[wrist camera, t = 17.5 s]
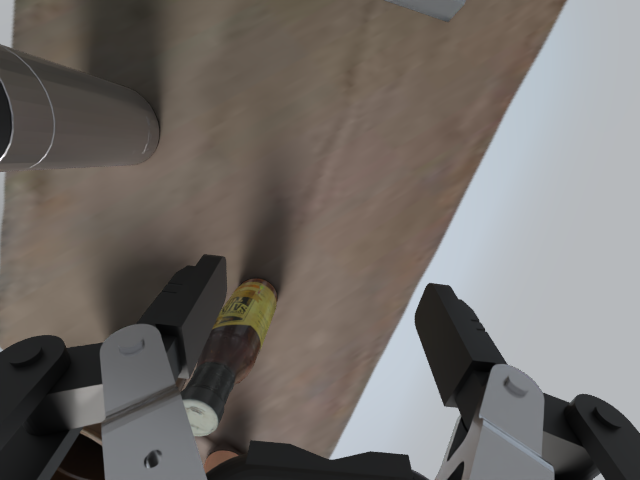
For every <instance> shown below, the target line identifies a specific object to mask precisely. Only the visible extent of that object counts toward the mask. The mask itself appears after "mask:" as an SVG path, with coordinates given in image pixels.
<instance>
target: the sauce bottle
mask: <svg viewBox="0 0 640 480" xmlns="http://www.w3.org/2000/svg"><path fill="white" fill-rule="evenodd" d="M276 303H277V293H276V291H275V288H274V287H273V286H272V285H271V284H270V283H269V282H267V281H265V280H263V279H250V280H247V281H245V282H243V283H242V284H241V285H240V286H239V287H238V288H237V289H236V290H235V291H234V293H233V294H232V296H231V297H230V299H229V300H228V301H227V303H226V304H225V306H224V307H223V308H222V310H221V311H220V313H219V315H218V317H217V320H216V322H215V324H214V326H213V328H212V330H211V333H210V335H209V337H208V339H207V341H206V344H205V346H204V348H203V350H202V352H201V354H200V357H199V359H198V363H197V368H196V370H195V371H194V374H193V377H192V378H191V380H190V381H189V383H188V385H187V386H186V388H185V389H184V390H183V391H181V392H180V394H181V397H182V400H183V403H184V406H185V410H186V413H187V416H188V419H189V422H190V426H191V429H192V432H193V435H194V436H204V435H208V434H210V433H211V432H213V431H214V430H216V428H217V427H218V425H219V422H220V420H221V418H222V415H223V413H224V405H225V403H226V400H227V398H228V396H229V393H230V392H231V390H232V389H233V386H234V384H236V383H240V381H242V380H243V379H244V378H245V377H246V376H247V375H248V374H249V372H250V371H251V369H252V368H253V366H254V363H255V360H256V358H257V356H258V354H259V352H260V350H261V347H262V344H263V342H264V339H265V336H266V334H267V331H268V328H269V326H270V323H271V320H272V317H273V315H274V312H275V309H276Z"/></svg>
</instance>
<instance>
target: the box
mask: <svg viewBox="0 0 640 480" xmlns="http://www.w3.org/2000/svg"><path fill="white" fill-rule="evenodd" d="M385 1H388V2H391V3H394V4H397V5H400V6H403V7H406V8H408V9H411V10H414V11H417V12H420V13H423V14H426V15H429V16H432V17H435V18H438V19H441V20H444V21H446V22H449V20H450V19H451V18H452V17H453V16H454V15H455V14H456V13H457V12H458V11H459V9H460V8H461V7H462V6H463V5H464V3H465V1H466V0H385Z"/></svg>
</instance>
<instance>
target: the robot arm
mask: <svg viewBox="0 0 640 480" xmlns="http://www.w3.org/2000/svg"><path fill="white" fill-rule="evenodd" d="M158 140H159V126H158V121H157V118H156V115H155V113H154V111H153V109H152V108H151V106H150V105H149V103H148V102H147V101H146V100H145V99H144V98H143V97H142V96H141V95H139V94H138V93H137V92H135V91H133V90H132V89H130V88H127V87H124V86H121V85H118V84H115V83H112V82H109V81H107V80H104V79H101V78H98V77H95V76H92V75H89V74H86V73H84V72H81V71H78V70H75V69H72V68H69V67H66V66H63V65H60V64H57V63H54V62H51V61H48V60H45V59H42V58H39V57H36V56H33V55H30V54H27V53H24V52H22V51H19V50H16V49H13V48H10V47H7V46H4V45H1V44H0V172H8V171H24V170H44V169H64V168H85V167H105V166H126V165H136V164H139V163H142V162H144V161H145V160H147V159H148V158H150V156H151V155H152V154H153V153H154V151H155V149H156V147H157V145H158ZM226 292H227V276H226V258H225V257H223V256H215V255H207V254H204V255H203V256H202V258H201V259H200V260H199V262H198V263H197V265H196V266H186V267H185V268H183V269H181V270H180V271H178V272H177V273H175V275H174V276H173V277H172V279H171V280H170V281H169V282H168V285H166V286H165V288H164V289H163V290H162V293H160V294H159V295H158V297H157V298H156V299H155V300H154V302H153V303H152V304H151V306H150V307H149V308H148V309H147V311H146V312H145V313H144V315H143V316H142V317H141V318H140V320H139V321H138V322H137V323H136V324H135V325H130V326H127V327H124V328H122V329H120V330H118V331H116V332H114V333H113V334H112V335H110V336H109V337H108V338H107V339H106V340H105V341H104V342H103V343H98V344H91V345H84V346H77V347H70V348H66V346H65V344H64V342H63V340H62V339H61V338H59V337H57V336H52V335H42V336H36V337H31V338H28V339H25V340H22V341H20V342H17V343H15V344H13V345H11V346H10V347H8V348H6V349H5V350H3V351H2V352H0V480H50V479H51V478H52V476H53V474H54V473H55V471H56V470H57V468H58V467H59V465H60V463H61V462H62V460H63V459H64V457H65V456H66V454H67V452H68V451H69V449H70V448H71V446H72V445H73V443H74V441H75V440H76V438H77V437H78V435H79V434H80V432H81V430H82V429H83V427H84V426H87V425H92V424H96V423H101V422H102V425H101V432H102V446H103V459H104V471H105V480H429V479H427V478H426V477H424V476H423V475H421V474H420V473H418V472H416V471H414V470H411V465H410V461H409V456H408V455H403V454H392V453H382V452H371V451H370V452H366V453H362V454H357V455H353V456H349V457H344V458H340V459H335V460H329V459H326V458H323V457H321V456H318V455H316V454H314V453H311V452H309V451H306V450H304V449H301V448H299V447H296V446H294V445H291V444H285V443H274V442H263V441H252V440H251V441H250V446H249V450H248V453H246V454H242V455H238V456H236V457H233V458H230V459H228V460H226V461H224V462H222V463H220V464H219V465H217V466H216V467H214V468H213V469H211V470H210V471H208V472H207V473H206V474H205V471H204V467H203V464H202V461H201V458H200V455H199V451H198V448H197V445H196V442H195V439H194V435H193V432H192V429H191V426H190V422H189V419H188V416H187V413H186V410H185V406H184V403H183V400H182V397H181V394H180V391H179V388H178V387H177V386H176V384H175V382H176V380H177V378H185V379H189V378H190V376H191V374H192V372H193V370H194V368H195V365H196V363H197V361H198V359H199V357H200V354H201V352H202V350H203V348H204V346H205V344H206V341H207V339H208V337H209V335H210V333H211V330H212V328H213V326H214V324H215V322H216V320H217V317H218V315H219V313H220V311H221V309H222V306H223V304H224V302H225V298H226ZM415 326H416V329H417V332H418V335H419V338H420V340H421V343H422V346H423V349H424V351H425V354H426V357H427V360H428V363H429V365H430V368H431V371H432V374H433V376H434V379H435V382H436V385H437V387H438V390H439V393H440V395H441V399H442V401H443V404H444V406H447V407H456V408H458V409H459V411H460V416H459V417H458V419H457V421H456V424H455V427H454V430H453V433H452V436H451V439H450V442H449V445H448V448H447V451H446V453H445V456H444V460H443V462H442V466H441V468H440V470H439V472H438V474H437V476H436V478H435V480H593V478H595V477H596V476H597V475H599V474H600V473H601V474H602V475H603V477H604V478H605V480H640V433H639V432H638V431H637V429H636V428H635V427H634V426H633V425H632V423H631V422H630V421H629V420H628V419H627V418H626V417H625V416H624V415H623V414H622V413H620V412H619V411H618V410H617V409H615V408H614V407H613V406H611V405H610V404H608V403H606V402H605V401H603V400H601V399H599V398H597V397H595V396H592V395H588V394H580V395H577V396H576V397H575V398H574V399H573V400H572V402H570V403H569V402H566V401H564V400H561V399H558V398H556V397H553V396H550V395H548V394H545V393H543V392H542V391H541V389H540V388H539V386H538V385H537V384H536V382H535V381H533V379H532V378H530V377H529V376H528V375H527V374H525V373H524V372H522V371H521V370H519V369H517V368H515V367H513V366H510V365H508V364H507V363H506V361H505V360H504V358H503V357H502V355H501V353H500V352H499V350H498V349H497V347H496V346H495V344H494V343H493V341H492V339H491V338H490V336H489V335H488V333H487V332H485V328H484V327H483V325H482V324H481V323H480V322H479V319H478V318H477V316H476V314H475V313H474V311H473V310H472V309H471V308H470V307H469V306H468V305H467V304H466V303H465V302H464V301H462V300H459V299H458V298H457V296H456V295H455V293H454V291H453V290H452V288H451V287H450V286H449V285H441V284H434V283H429V284H428V285H427V286H426V288H425V290H424V293H423V295H422V298H421V300H420V302H419V305H418V307H417V310H416V313H415Z"/></svg>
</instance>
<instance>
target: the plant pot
mask: <svg viewBox="0 0 640 480" xmlns="http://www.w3.org/2000/svg"><path fill="white" fill-rule="evenodd" d="M184 383H185V378H177V380H176V382H175V384H176V386H177V387H178V388H179V391H180V392H181V390H182V388H183V386H184ZM101 425H102V422H101V423H96V424H92V425H87V426H84V427H83V429H82V430H81V432H80V434H79V435H78V437H77V438H76V440H75V441H74V443H73V445H72V446H71V448H70V449H69V451H68V452H67V454H66V456H65V457H64V459H63V460H62V462H61V463H60V465H59V467H58V468H57V470H56V471H55V473H54V474H53V476H52V478H51V479H50V480H105V471H104V459H103V446H102V432H101Z"/></svg>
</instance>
